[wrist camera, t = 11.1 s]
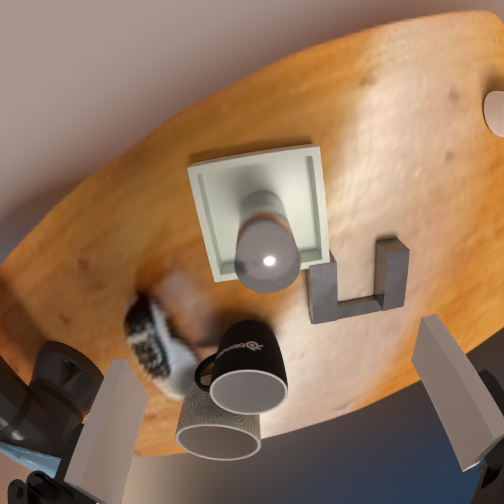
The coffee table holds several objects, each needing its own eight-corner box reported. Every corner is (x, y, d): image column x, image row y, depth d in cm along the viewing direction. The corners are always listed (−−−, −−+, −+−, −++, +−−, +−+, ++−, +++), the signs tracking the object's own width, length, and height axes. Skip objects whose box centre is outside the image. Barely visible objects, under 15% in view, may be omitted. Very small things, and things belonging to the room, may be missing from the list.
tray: (217, 267, 35) (214, 282, 32) (193, 163, 30) (186, 167, 27) (323, 252, 34) (330, 265, 31) (312, 143, 29) (319, 146, 26)
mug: (270, 304, 37) (275, 361, 28) (289, 350, 41) (296, 406, 32) (186, 326, 39) (171, 382, 30) (213, 368, 43) (206, 422, 34)
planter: (198, 355, 41) (187, 415, 32) (272, 378, 44) (276, 436, 34) (177, 397, 46) (167, 448, 36) (242, 415, 49) (240, 465, 39)
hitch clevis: (309, 319, 38) (314, 336, 35) (304, 252, 34) (309, 266, 31) (392, 303, 38) (401, 318, 34) (397, 237, 33) (409, 249, 30)
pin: (236, 194, 30) (228, 239, 20) (280, 187, 30) (297, 229, 19) (244, 234, 32) (240, 297, 22) (286, 228, 32) (303, 288, 21)
